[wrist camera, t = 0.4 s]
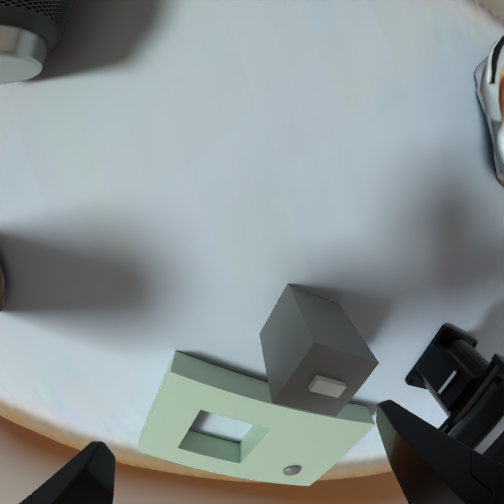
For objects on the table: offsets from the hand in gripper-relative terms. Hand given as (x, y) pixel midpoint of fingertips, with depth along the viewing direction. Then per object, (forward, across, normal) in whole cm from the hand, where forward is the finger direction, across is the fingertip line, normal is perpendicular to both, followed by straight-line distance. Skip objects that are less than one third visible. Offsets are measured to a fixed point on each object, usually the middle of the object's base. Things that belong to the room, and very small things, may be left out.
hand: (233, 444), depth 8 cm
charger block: (+13, -4, +4) cm, 14 cm away
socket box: (+13, +2, +14) cm, 19 cm away
